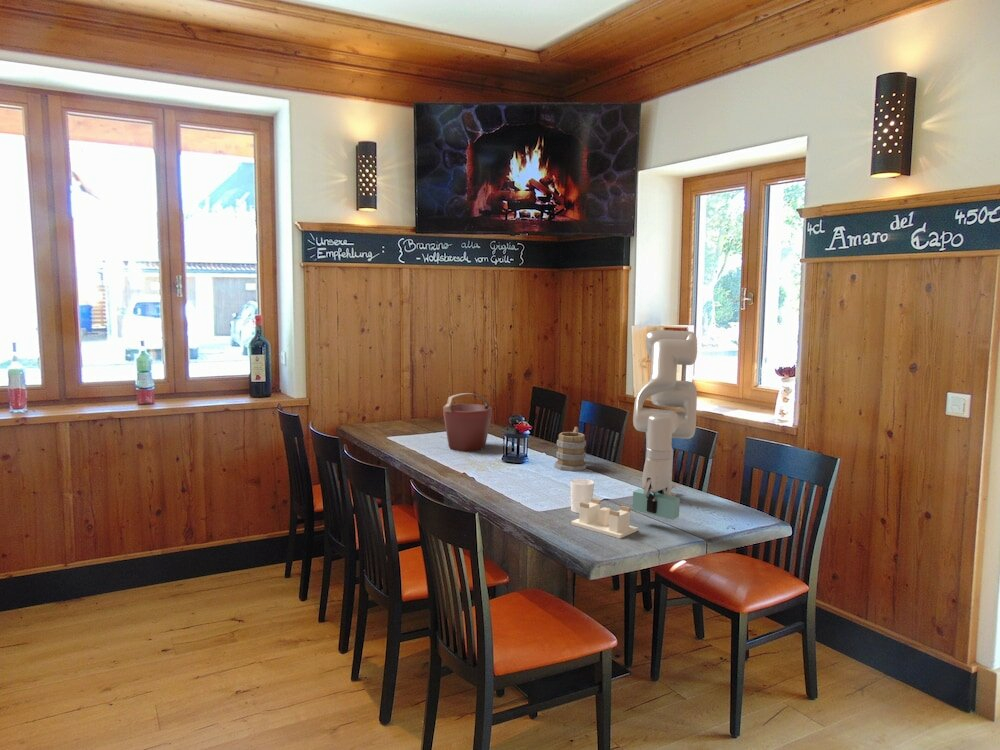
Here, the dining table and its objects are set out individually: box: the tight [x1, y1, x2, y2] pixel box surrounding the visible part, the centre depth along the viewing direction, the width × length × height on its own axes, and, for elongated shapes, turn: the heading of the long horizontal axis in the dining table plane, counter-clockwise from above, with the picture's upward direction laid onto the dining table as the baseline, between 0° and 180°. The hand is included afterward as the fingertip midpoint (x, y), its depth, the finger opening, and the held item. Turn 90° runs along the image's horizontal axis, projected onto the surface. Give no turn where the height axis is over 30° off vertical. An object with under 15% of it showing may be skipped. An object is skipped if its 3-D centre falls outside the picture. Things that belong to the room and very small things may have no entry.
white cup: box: [569, 478, 595, 514], centre depth 242 cm, size 8×8×10 cm
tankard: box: [554, 426, 588, 472], centre depth 304 cm, size 20×13×15 cm, turn 162°
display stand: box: [570, 497, 639, 539], centre depth 226 cm, size 10×18×7 cm, turn 49°
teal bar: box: [632, 488, 681, 521], centre depth 228 cm, size 4×14×6 cm, turn 52°
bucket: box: [442, 392, 493, 452], centre depth 332 cm, size 24×22×25 cm
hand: (655, 509), depth 228 cm, fingers closed on teal bar, 4 cm apart
